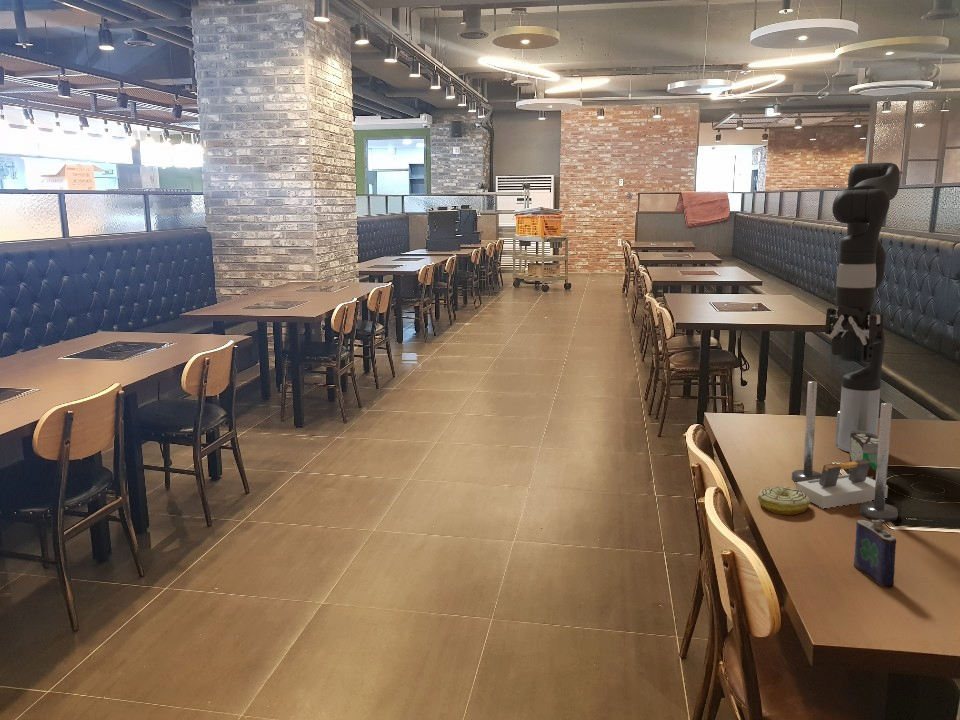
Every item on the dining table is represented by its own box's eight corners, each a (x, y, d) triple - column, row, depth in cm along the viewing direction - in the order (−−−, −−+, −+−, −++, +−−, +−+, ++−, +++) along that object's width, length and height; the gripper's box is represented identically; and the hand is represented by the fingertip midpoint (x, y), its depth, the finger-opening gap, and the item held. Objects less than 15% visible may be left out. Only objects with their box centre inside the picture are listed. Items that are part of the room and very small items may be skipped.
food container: (890, 486, 172) (893, 445, 170) (861, 485, 174) (864, 445, 172) (873, 468, 184) (876, 430, 182) (847, 467, 185) (849, 429, 183)
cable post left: (785, 477, 180) (789, 380, 175) (809, 474, 182) (814, 377, 177) (805, 487, 174) (810, 386, 169) (829, 483, 175) (835, 383, 171)
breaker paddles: (818, 483, 166) (824, 465, 164) (860, 477, 169) (865, 458, 167) (823, 487, 164) (828, 468, 162) (865, 481, 167) (870, 462, 165)
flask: (850, 564, 136) (854, 510, 134) (864, 563, 136) (868, 509, 134) (883, 589, 127) (888, 531, 125) (899, 587, 127) (904, 530, 125)
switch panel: (795, 494, 169) (796, 481, 169) (856, 485, 174) (857, 472, 173) (823, 509, 161) (824, 495, 160) (886, 498, 165) (887, 485, 165)
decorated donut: (816, 506, 163) (817, 490, 163) (799, 521, 156) (799, 505, 155) (769, 495, 170) (770, 479, 170) (750, 509, 163) (751, 493, 162)
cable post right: (852, 511, 159) (859, 401, 155) (879, 506, 161) (887, 398, 156) (877, 523, 153) (886, 409, 148) (905, 518, 155) (914, 406, 150)
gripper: (896, 286, 152) (890, 362, 156) (846, 280, 166) (841, 351, 169) (866, 288, 151) (861, 365, 154) (817, 282, 164) (814, 354, 167)
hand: (851, 358), depth 161 cm, fingers open, 8 cm apart
